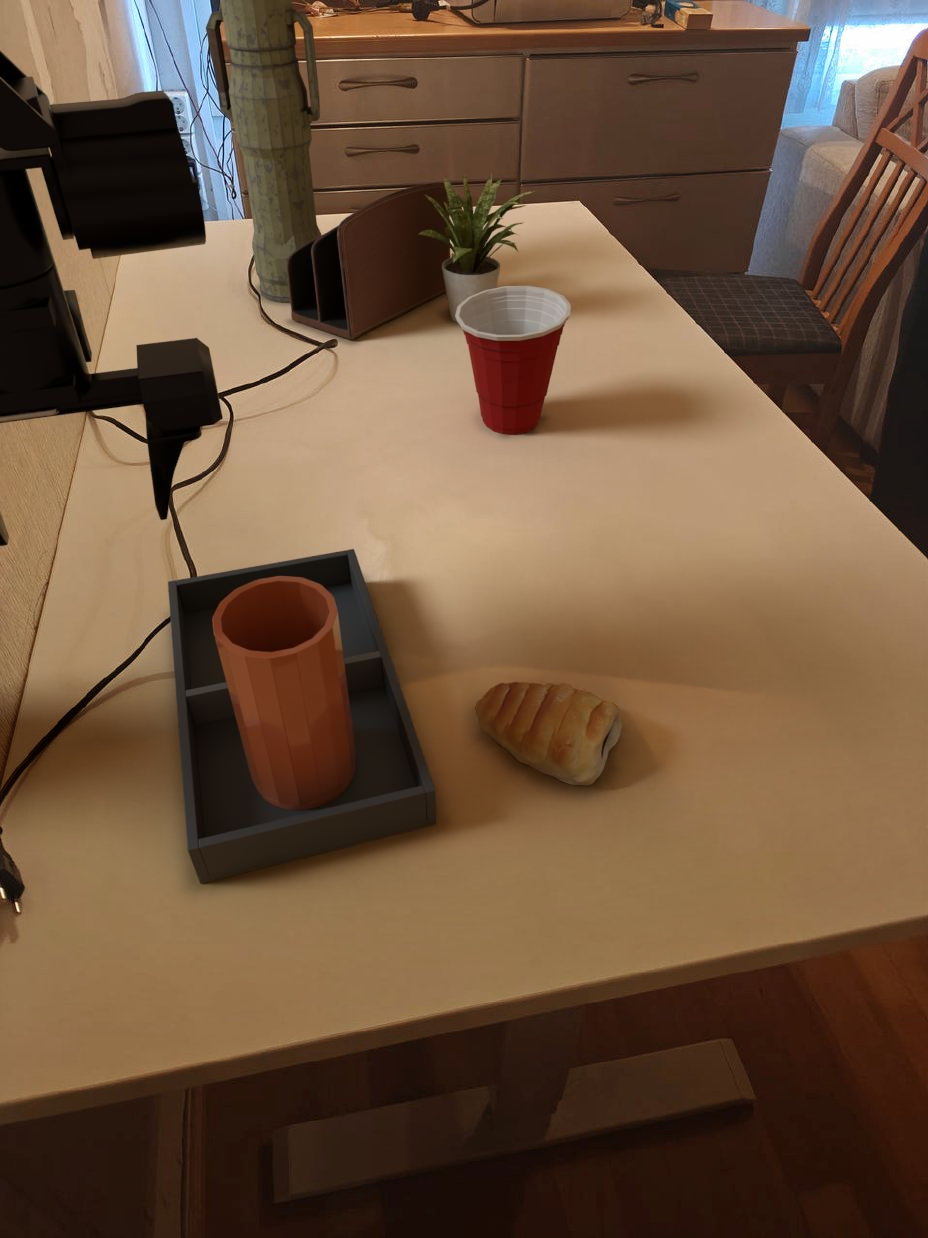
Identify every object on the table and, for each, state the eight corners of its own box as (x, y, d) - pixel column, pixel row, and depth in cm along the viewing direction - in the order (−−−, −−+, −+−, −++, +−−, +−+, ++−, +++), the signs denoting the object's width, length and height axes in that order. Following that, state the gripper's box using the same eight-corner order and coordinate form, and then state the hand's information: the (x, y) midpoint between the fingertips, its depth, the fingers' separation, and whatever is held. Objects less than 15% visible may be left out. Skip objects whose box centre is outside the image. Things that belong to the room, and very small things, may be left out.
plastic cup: (437, 409, 91) (435, 295, 83) (527, 387, 94) (533, 275, 86) (487, 459, 83) (490, 339, 75) (582, 432, 87) (594, 315, 79)
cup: (230, 784, 54) (186, 630, 45) (294, 715, 58) (265, 562, 50) (316, 827, 52) (286, 673, 43) (376, 752, 56) (360, 598, 47)
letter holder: (452, 290, 114) (451, 174, 105) (351, 342, 103) (340, 216, 93) (394, 273, 119) (388, 160, 109) (291, 321, 107) (274, 199, 97)
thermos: (256, 275, 118) (205, -48, 95) (342, 277, 118) (313, -47, 94) (240, 301, 111) (181, -40, 88) (331, 303, 111) (297, -39, 88)
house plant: (523, 348, 101) (530, 199, 90) (407, 340, 103) (400, 192, 92) (535, 300, 112) (543, 161, 101) (429, 293, 113) (426, 156, 103)
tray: (200, 884, 49) (187, 850, 47) (177, 615, 67) (167, 581, 64) (437, 824, 52) (435, 790, 50) (357, 582, 70) (353, 548, 67)
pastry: (458, 749, 57) (458, 710, 54) (497, 682, 61) (499, 643, 59) (595, 798, 54) (602, 759, 51) (626, 724, 59) (634, 684, 56)
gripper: (180, 203, 50) (228, 440, 61) (-180, 234, 46) (-62, 482, 57) (192, 271, 42) (246, 531, 53) (-241, 316, 38) (-90, 588, 49)
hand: (85, 528), depth 53 cm, fingers open, 9 cm apart
